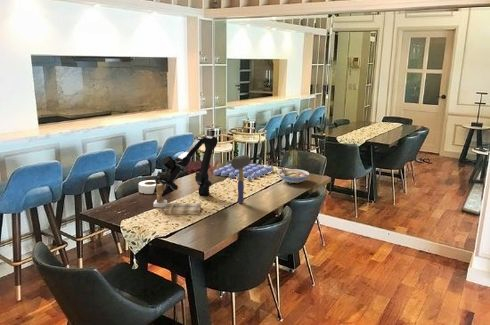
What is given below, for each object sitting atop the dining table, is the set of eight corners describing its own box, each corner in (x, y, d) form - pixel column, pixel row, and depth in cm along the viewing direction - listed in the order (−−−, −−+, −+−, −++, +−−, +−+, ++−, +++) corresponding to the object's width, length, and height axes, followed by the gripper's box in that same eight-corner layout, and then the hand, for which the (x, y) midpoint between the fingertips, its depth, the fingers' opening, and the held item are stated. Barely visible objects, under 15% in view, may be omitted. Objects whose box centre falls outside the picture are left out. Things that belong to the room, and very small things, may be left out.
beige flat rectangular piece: (201, 207, 241) (200, 203, 240) (199, 214, 229) (198, 210, 228) (167, 207, 240) (167, 203, 240) (164, 214, 229) (163, 210, 228)
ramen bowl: (311, 187, 282) (311, 176, 280) (278, 187, 282) (279, 176, 280) (306, 178, 306) (307, 167, 304) (276, 177, 306) (277, 167, 305)
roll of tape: (152, 186, 284) (152, 178, 283) (167, 190, 274) (166, 182, 273) (134, 191, 272) (133, 183, 271) (148, 195, 262) (148, 187, 261)
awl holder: (167, 203, 247) (167, 199, 246) (165, 207, 240) (164, 203, 239) (155, 203, 246) (155, 199, 246) (153, 207, 240) (153, 203, 239)
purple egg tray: (272, 172, 323) (272, 166, 322) (250, 182, 295) (250, 176, 294) (236, 167, 341) (236, 161, 340) (212, 175, 313) (212, 169, 312)
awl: (164, 204, 245) (163, 183, 242) (163, 206, 241) (162, 185, 238) (157, 204, 245) (156, 183, 242) (156, 206, 241) (155, 185, 238)
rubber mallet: (240, 206, 242) (240, 158, 235) (230, 204, 246) (229, 157, 239) (251, 201, 252) (251, 154, 245) (241, 199, 256) (241, 153, 249)
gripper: (156, 163, 247) (141, 184, 242) (173, 169, 234) (157, 190, 229) (168, 173, 254) (153, 193, 249) (184, 179, 240) (169, 201, 236)
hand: (157, 194), depth 241 cm, fingers open, 9 cm apart
